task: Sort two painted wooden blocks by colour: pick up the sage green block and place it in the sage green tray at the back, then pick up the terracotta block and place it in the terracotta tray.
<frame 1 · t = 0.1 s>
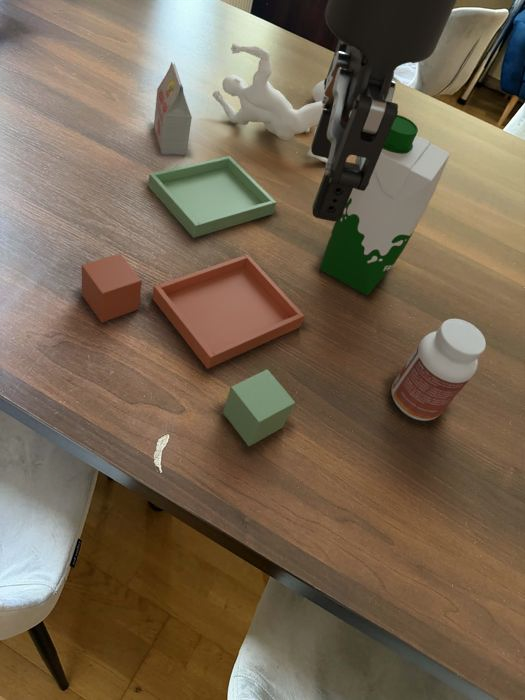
hand: (323, 184, 46), 22 cm above the table, tool pointing down, fingers open, 8 cm apart
flower in vase: (343, 111, 104), on the table
sage tray: (211, 200, 78), on the table
pill bottle: (414, 400, 65), on the table
sage block: (253, 419, 58), on the table
terracotta tray: (227, 312, 66), on the table
soya milk: (352, 270, 76), on the table
terracotta block: (110, 302, 63), on the table
person figurine: (268, 139, 92), on the table
small milk carton: (169, 141, 85), on the table
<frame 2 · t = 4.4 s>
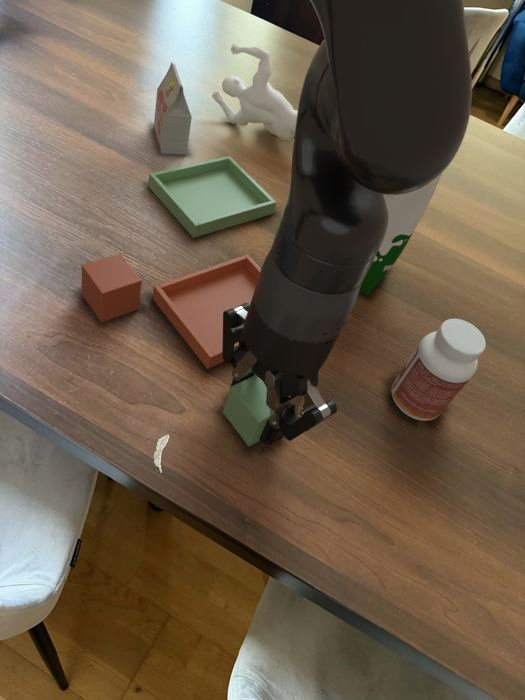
hand: (254, 418, 57), 0 cm above the table, tool pointing down, fingers closed on sage block, 4 cm apart
sage block: (253, 419, 58), on the table, touching gripper
everything else where it was.
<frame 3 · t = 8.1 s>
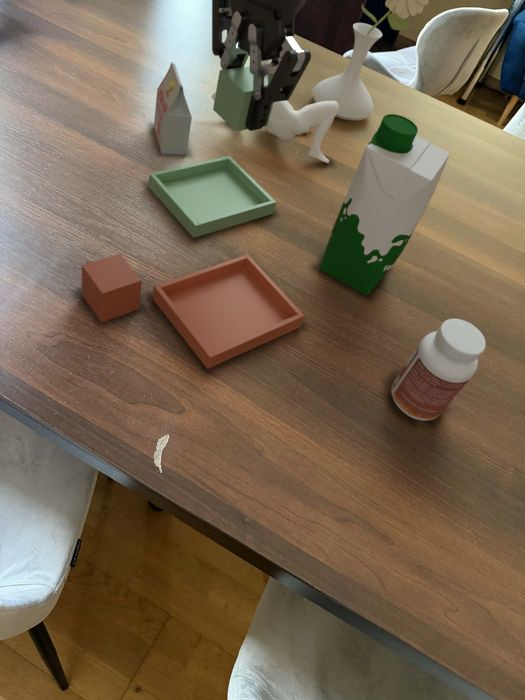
hand: (240, 115, 64), 15 cm above the table, tool pointing down, fingers closed on sage block, 4 cm apart
sage block: (240, 117, 64), point 15 cm above the table, touching gripper
everything else where it was.
when the fingers open (1 cm above the table, at t = 12.2 s): sage block stays where it is, resting on sage tray.
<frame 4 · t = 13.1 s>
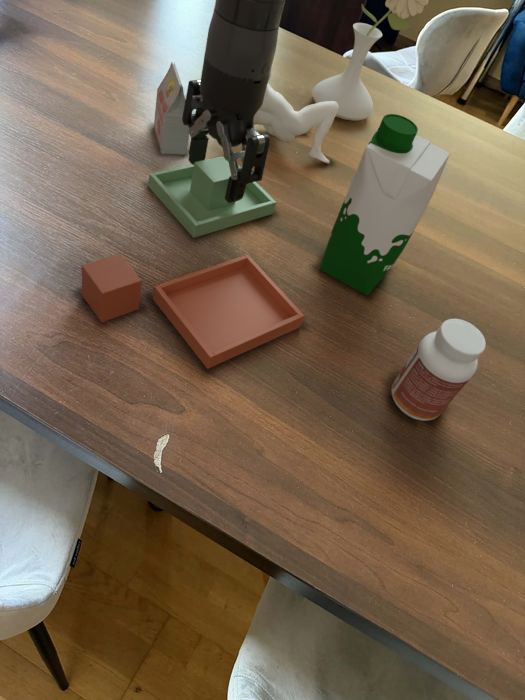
hand: (214, 181, 76), 3 cm above the table, tool pointing down, fingers open, 8 cm apart
sage block: (212, 197, 78), resting on sage tray
everything else where it was.
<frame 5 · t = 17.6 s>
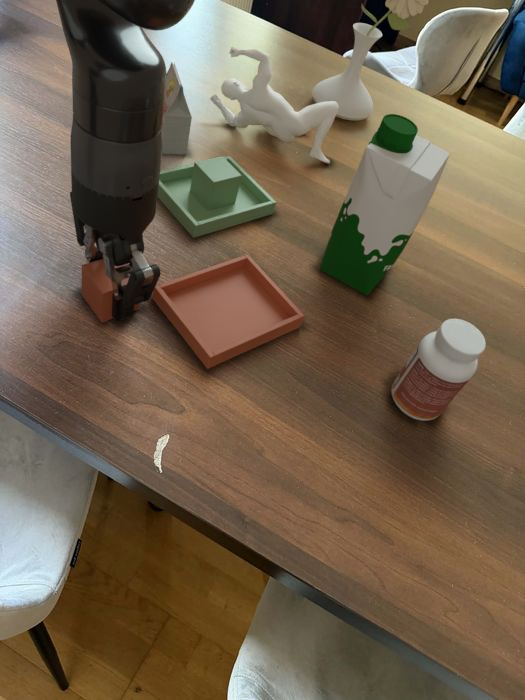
hand: (110, 300, 63), 0 cm above the table, tool pointing down, fingers closed on terracotta block, 4 cm apart
terracotta block: (110, 302, 63), on the table, touching gripper
everything else where it was.
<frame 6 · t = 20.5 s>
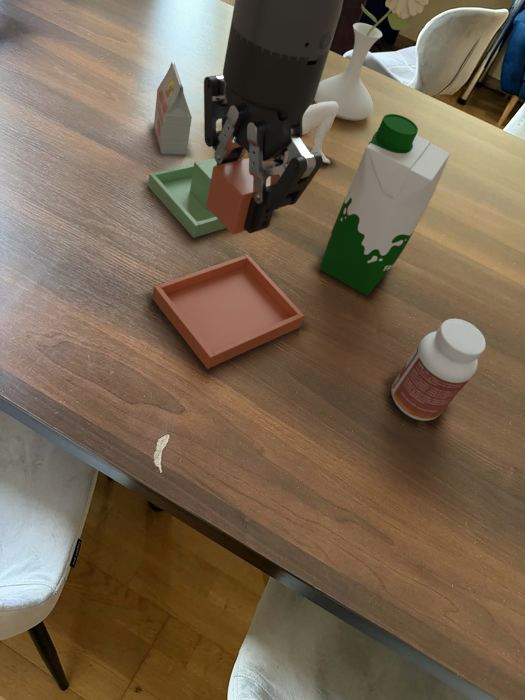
hand: (238, 212, 55), 14 cm above the table, tool pointing down, fingers closed on terracotta block, 4 cm apart
terracotta block: (237, 214, 55), point 14 cm above the table, touching gripper
everything else where it was.
when the fingers open (1 cm above the table, at t = 23.9 s): terracotta block stays where it is, resting on terracotta tray.
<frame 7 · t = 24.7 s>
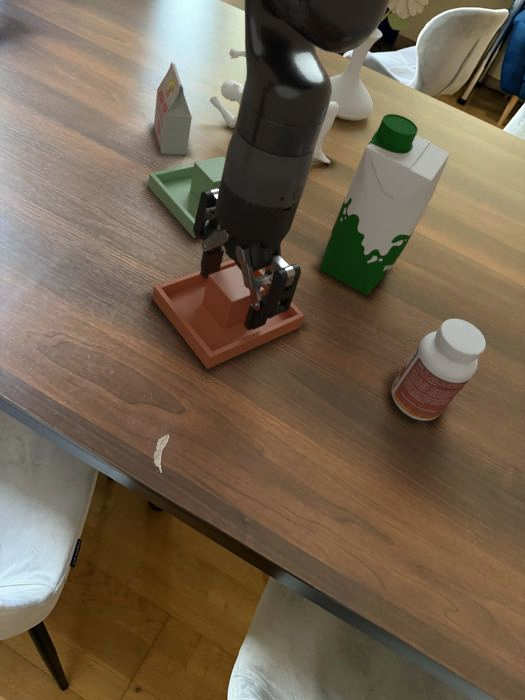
hand: (230, 300, 64), 2 cm above the table, tool pointing down, fingers open, 8 cm apart
terracotta block: (229, 310, 66), resting on terracotta tray
everything else where it was.
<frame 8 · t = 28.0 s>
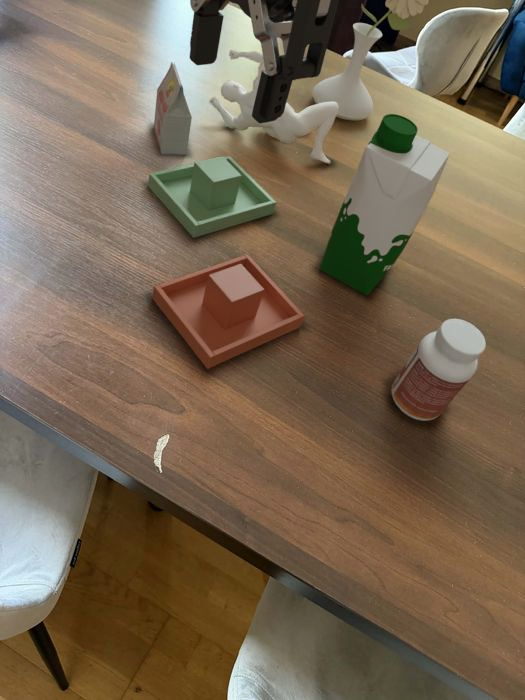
hand: (232, 90, 45), 26 cm above the table, tool pointing down, fingers open, 8 cm apart
at the end: sage block inside the target area in the sage tray (0.1 cm from its centre), point 0.5 cm above the sage tray's base; terracotta block inside the target area in the terracotta tray (0.1 cm from its centre), point 0.5 cm above the terracotta tray's base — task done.
